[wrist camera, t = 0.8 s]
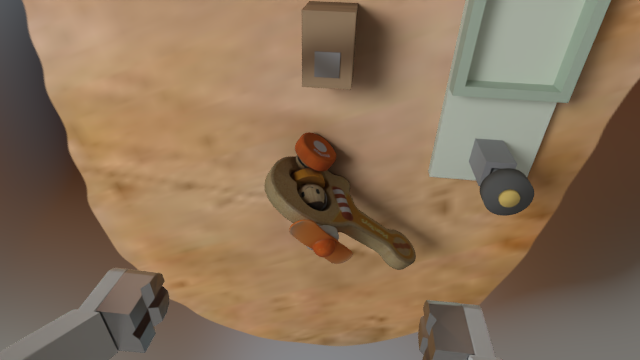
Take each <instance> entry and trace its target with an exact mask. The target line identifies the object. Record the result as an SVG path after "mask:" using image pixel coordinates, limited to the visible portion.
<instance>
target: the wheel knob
mask: <svg viewBox="0 0 640 360" xmlns="http://www.w3.org/2000/svg"><path fill="white" fill-rule="evenodd" d="M480 195H481V197H482V200H483V202H484V205H485V207H486V208H487V209H488V210H489V211H490V212H492V213H494V214H497V215H512V214H516V213H518V212H521V211H522V210H524V209H525V208H527V207H528V206H529V205H530V203H531V202H532V200H533V197H534V189H533V187H532V185H531V184H530V182H529V180H528V179H527V177H526V175H525V174H524V173H522V172H521V171H519V170H516V169H512V168H505V169H499V168H491V171H490V174H489V175H488V176H486V178H485V179H484V180H483V181H482V183H481V185H480Z"/></svg>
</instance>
